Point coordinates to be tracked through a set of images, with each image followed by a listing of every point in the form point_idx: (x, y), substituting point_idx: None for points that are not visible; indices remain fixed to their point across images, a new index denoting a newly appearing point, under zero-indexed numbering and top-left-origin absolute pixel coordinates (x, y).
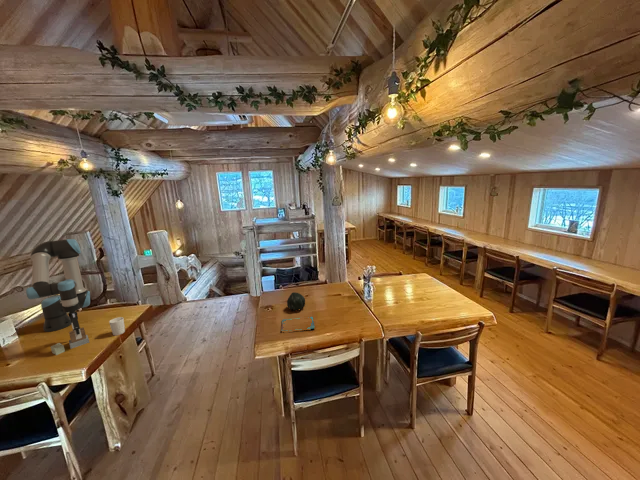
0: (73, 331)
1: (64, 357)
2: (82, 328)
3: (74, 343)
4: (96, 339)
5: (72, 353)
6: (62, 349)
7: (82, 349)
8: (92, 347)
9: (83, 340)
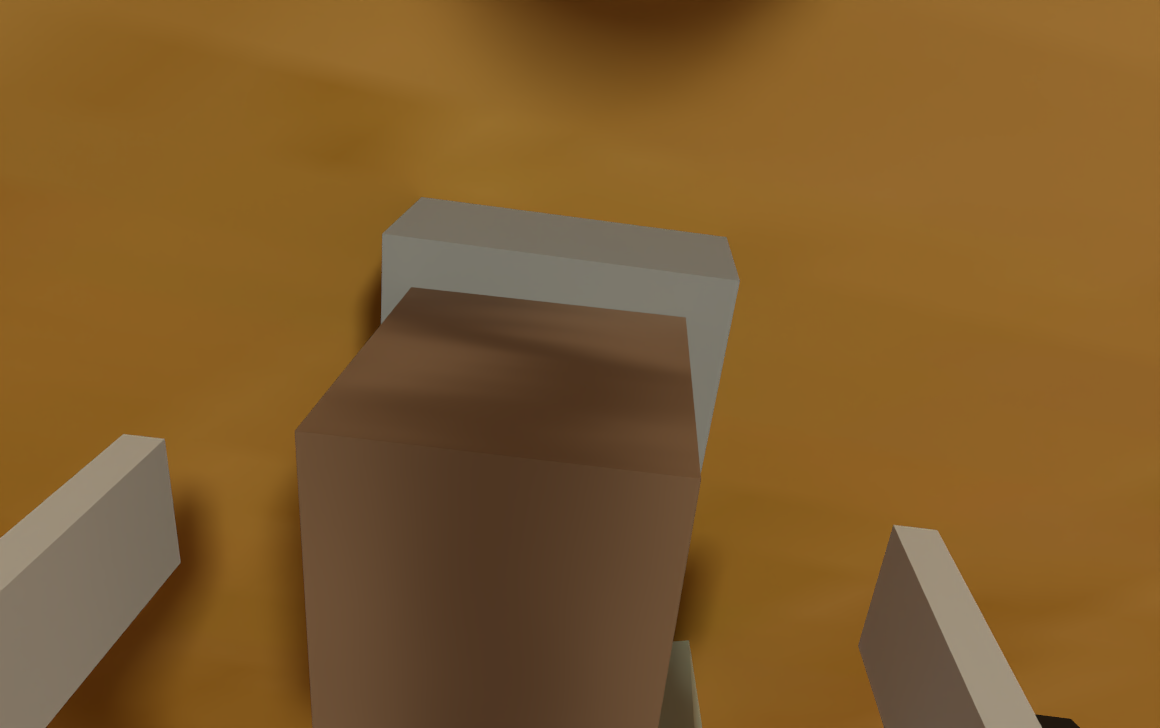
0: (436, 721)
1: None
2: (415, 481)
3: None
4: (714, 60)
5: None
6: (694, 715)
7: (987, 435)
8: (1154, 271)
9: (717, 388)
